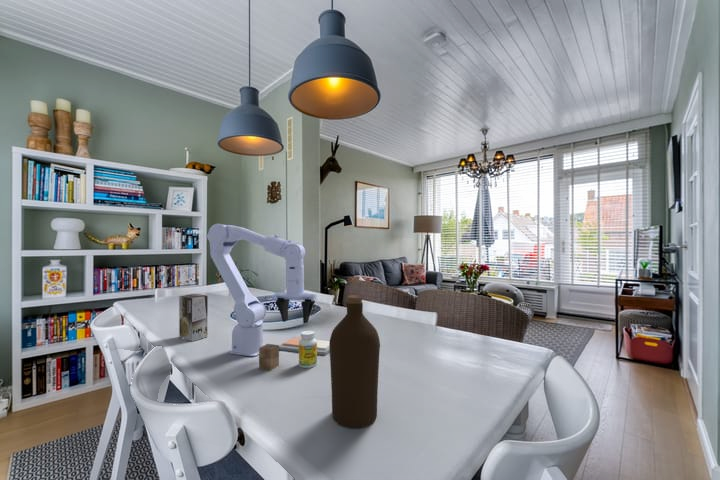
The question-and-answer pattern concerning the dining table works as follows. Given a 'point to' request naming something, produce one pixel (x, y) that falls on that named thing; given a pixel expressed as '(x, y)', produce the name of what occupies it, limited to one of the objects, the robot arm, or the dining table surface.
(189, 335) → the coffee box
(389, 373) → the dining table surface
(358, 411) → the olive oil
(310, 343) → the supplement bottle
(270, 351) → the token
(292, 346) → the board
